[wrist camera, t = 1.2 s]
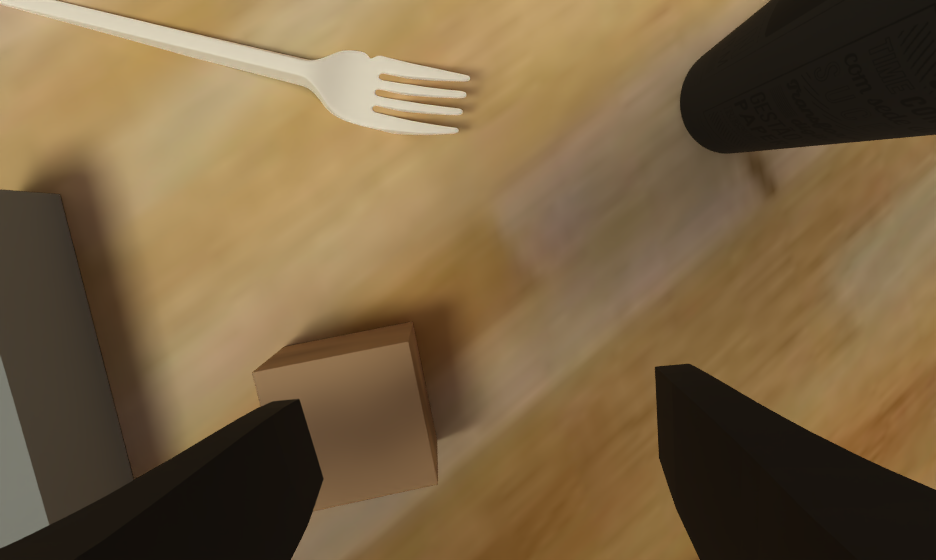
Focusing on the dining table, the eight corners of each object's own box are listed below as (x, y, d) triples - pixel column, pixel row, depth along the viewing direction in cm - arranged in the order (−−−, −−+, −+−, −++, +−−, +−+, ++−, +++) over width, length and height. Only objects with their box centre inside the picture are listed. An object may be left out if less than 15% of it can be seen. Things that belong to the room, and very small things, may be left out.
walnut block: (437, 438, 23) (437, 484, 19) (314, 464, 22) (289, 516, 18) (412, 320, 22) (408, 341, 18) (285, 345, 22) (252, 372, 18)
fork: (4, -40, 19) (-43, -69, 17) (470, 79, 21) (473, 64, 19) (-6, 40, 20) (-53, 19, 18) (454, 151, 21) (455, 144, 19)
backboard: (157, 573, 22) (88, 661, 18) (114, 581, 22) (33, 671, 18) (59, 194, 20) (-49, 185, 15) (11, 201, 20) (-113, 194, 15)
